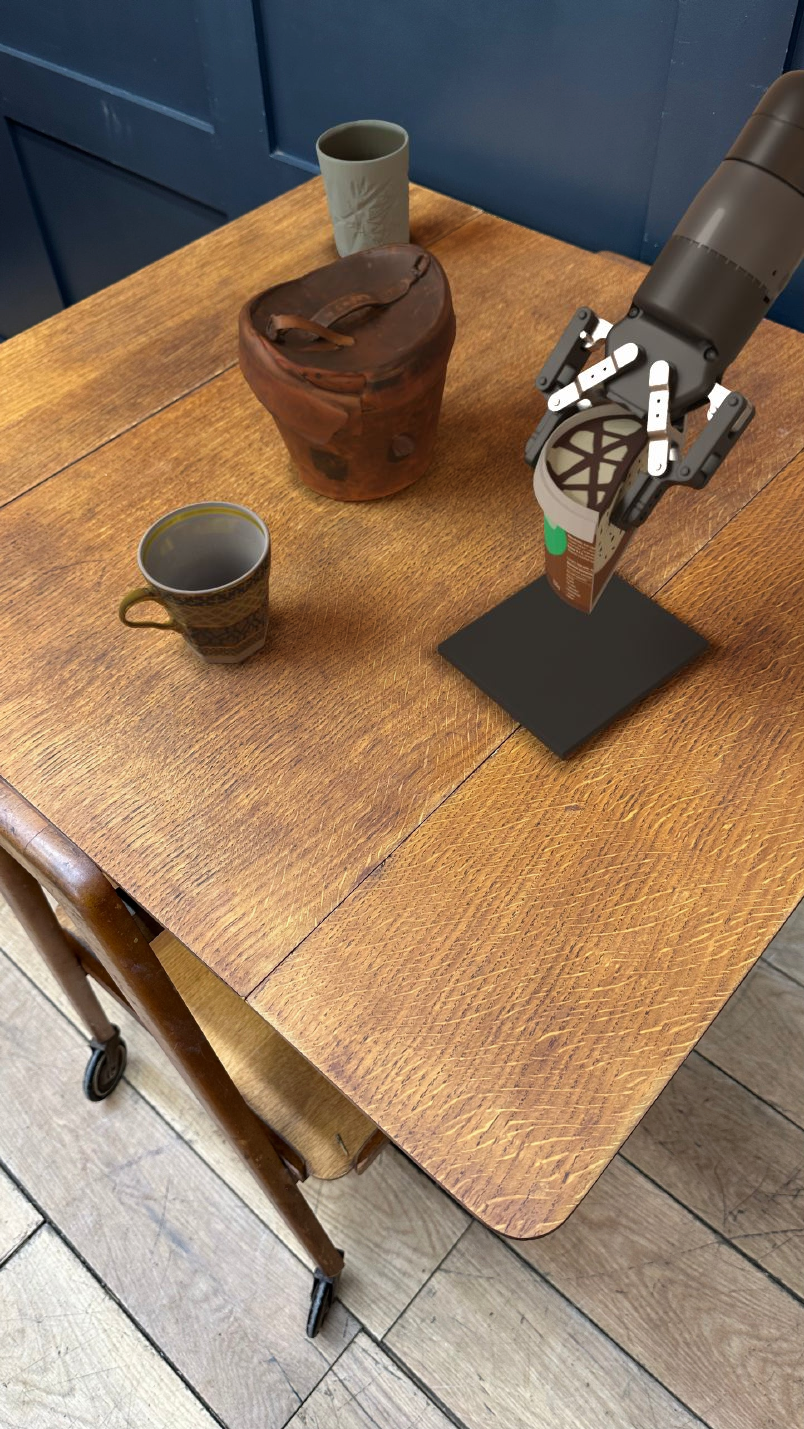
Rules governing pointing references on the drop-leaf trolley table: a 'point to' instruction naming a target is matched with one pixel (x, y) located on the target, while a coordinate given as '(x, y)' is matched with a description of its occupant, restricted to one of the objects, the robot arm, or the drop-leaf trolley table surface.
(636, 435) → the food container
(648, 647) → the mat
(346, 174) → the embossed grey tumbler
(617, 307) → the drop-leaf trolley table surface
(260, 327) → the case
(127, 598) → the ceramic cup
